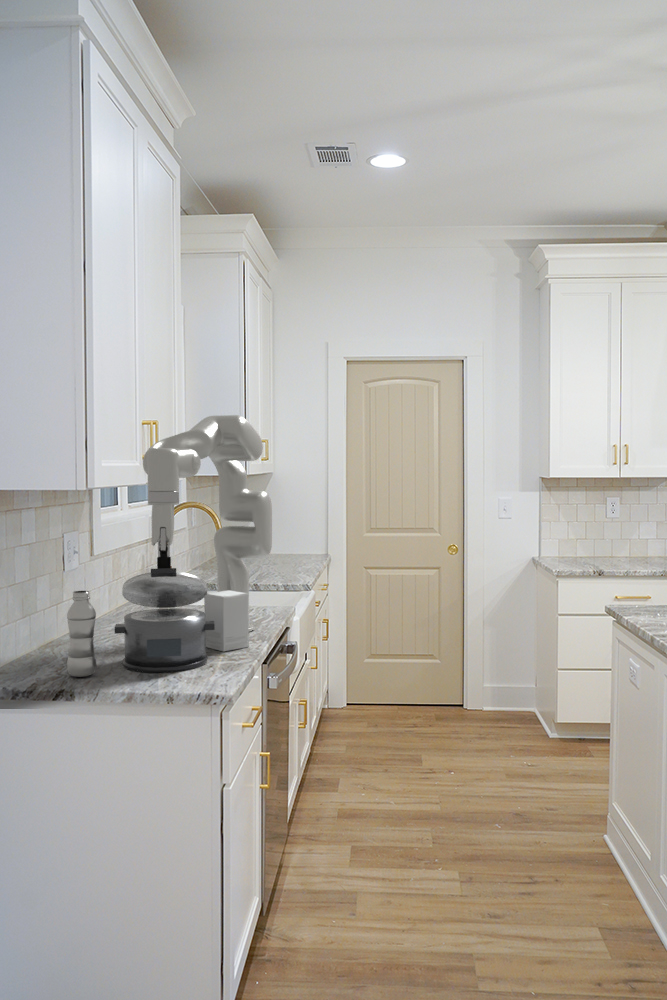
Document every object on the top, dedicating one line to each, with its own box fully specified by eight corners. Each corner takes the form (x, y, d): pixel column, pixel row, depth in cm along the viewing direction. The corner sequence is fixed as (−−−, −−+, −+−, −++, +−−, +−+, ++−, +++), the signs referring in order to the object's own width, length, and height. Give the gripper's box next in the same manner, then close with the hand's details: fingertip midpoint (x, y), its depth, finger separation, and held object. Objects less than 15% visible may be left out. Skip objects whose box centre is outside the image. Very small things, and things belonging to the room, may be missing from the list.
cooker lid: (125, 609, 207) (126, 596, 209) (206, 606, 211) (206, 594, 212) (118, 574, 187) (118, 561, 188) (207, 572, 191) (207, 559, 192)
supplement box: (250, 647, 217) (249, 592, 216) (223, 652, 211) (223, 596, 210) (230, 642, 223) (229, 589, 223) (203, 647, 217) (203, 592, 216)
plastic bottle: (74, 672, 190) (72, 589, 189) (101, 673, 189) (100, 589, 188) (62, 679, 183) (60, 593, 183) (90, 680, 183) (89, 594, 182)
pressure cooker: (119, 654, 208) (119, 608, 208) (213, 650, 213) (213, 605, 212) (111, 675, 187) (110, 624, 186) (215, 670, 191) (215, 620, 191)
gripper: (149, 497, 199) (150, 570, 200) (145, 499, 185) (146, 577, 185) (179, 497, 201) (180, 569, 201) (178, 499, 186) (179, 577, 187)
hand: (164, 573), depth 193 cm, fingers closed
